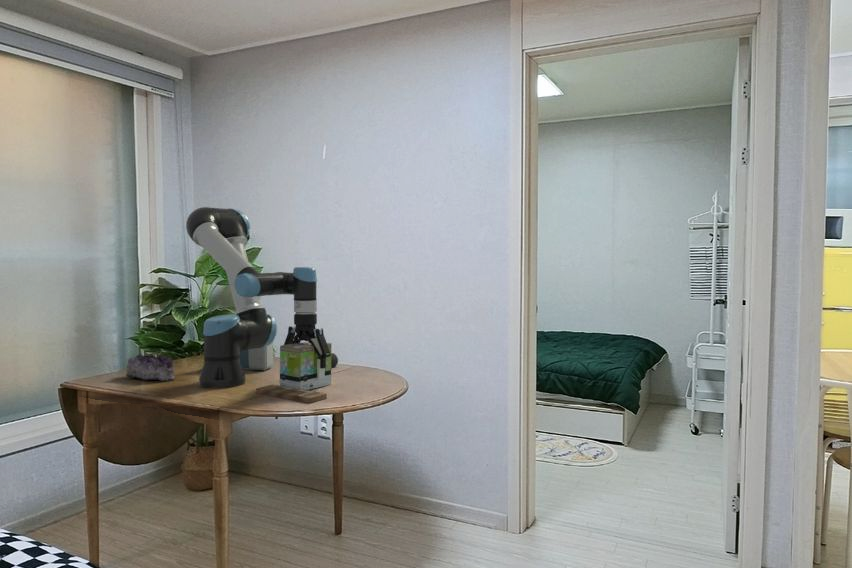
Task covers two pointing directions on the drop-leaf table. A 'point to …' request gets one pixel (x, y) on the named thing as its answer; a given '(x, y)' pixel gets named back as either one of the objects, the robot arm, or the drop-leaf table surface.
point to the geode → (151, 368)
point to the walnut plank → (291, 393)
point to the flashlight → (334, 359)
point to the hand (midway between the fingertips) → (306, 375)
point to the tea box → (302, 366)
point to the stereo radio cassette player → (257, 358)
